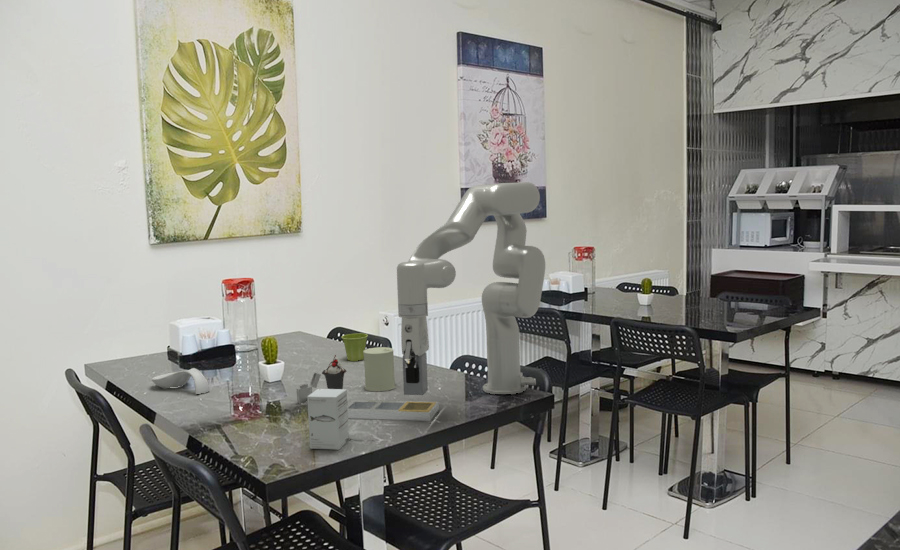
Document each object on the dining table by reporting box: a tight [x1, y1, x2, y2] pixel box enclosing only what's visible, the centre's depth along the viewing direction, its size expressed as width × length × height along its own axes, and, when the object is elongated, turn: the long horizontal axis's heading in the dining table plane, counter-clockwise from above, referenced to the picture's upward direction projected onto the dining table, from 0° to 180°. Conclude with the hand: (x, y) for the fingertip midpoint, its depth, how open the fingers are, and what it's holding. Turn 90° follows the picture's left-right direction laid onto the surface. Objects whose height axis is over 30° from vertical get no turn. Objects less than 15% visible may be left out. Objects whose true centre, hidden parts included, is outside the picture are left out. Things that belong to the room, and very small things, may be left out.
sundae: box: [321, 354, 348, 389], centre depth 201 cm, size 7×7×15 cm
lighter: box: [296, 371, 322, 405], centre depth 208 cm, size 7×2×8 cm, turn 126°
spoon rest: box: [151, 367, 211, 395], centre depth 228 cm, size 24×12×7 cm, turn 52°
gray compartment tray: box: [347, 399, 440, 425], centre depth 190 cm, size 24×10×3 cm, turn 78°
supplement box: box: [307, 388, 349, 451], centre depth 170 cm, size 7×7×13 cm
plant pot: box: [340, 332, 369, 362], centre depth 261 cm, size 9×9×9 cm
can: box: [363, 346, 396, 392], centre depth 220 cm, size 9×9×12 cm
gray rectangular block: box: [402, 351, 429, 396], centre depth 187 cm, size 5×5×10 cm
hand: (415, 379), depth 187 cm, fingers closed on gray rectangular block, 5 cm apart
